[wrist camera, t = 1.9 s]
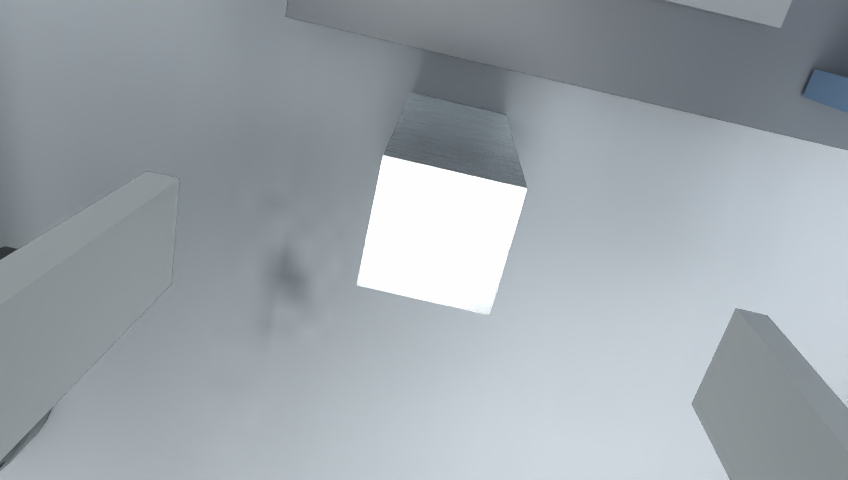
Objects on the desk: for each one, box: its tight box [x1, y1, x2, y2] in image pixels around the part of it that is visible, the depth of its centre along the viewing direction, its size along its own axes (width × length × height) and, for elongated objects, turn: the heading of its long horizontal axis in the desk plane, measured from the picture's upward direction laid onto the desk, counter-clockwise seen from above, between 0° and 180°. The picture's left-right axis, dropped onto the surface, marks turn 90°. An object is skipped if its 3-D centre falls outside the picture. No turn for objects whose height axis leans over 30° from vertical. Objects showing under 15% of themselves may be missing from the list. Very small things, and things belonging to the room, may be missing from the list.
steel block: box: [357, 92, 527, 315], centre depth 23 cm, size 4×4×10 cm
